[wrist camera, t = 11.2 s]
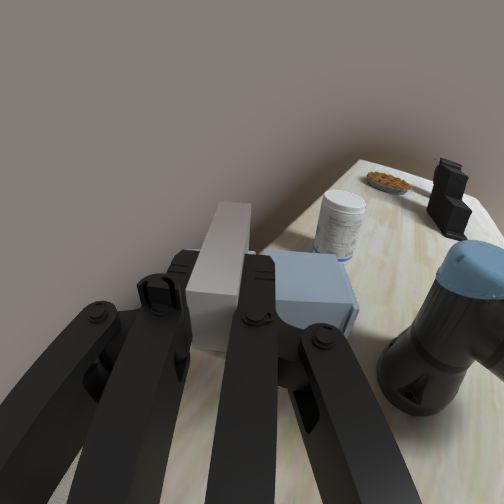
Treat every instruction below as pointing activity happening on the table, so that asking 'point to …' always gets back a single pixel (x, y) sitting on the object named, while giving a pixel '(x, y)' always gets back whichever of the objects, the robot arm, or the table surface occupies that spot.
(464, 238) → the black stepped block
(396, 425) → the table surface
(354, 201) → the supplement tub
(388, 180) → the pie
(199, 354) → the table surface
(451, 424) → the table surface
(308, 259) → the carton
